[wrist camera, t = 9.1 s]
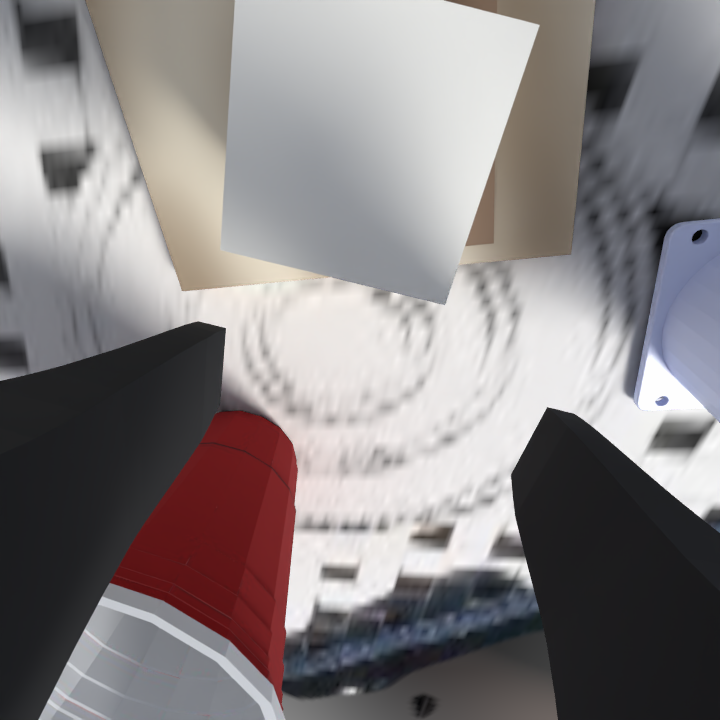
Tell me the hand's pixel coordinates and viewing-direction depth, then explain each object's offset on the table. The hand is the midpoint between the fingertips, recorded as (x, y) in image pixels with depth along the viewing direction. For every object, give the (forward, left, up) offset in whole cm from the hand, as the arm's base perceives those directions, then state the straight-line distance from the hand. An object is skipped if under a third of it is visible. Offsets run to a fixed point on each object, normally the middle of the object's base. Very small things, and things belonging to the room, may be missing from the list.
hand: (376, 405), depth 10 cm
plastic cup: (+9, +9, -10) cm, 16 cm away
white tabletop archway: (0, -5, -8) cm, 10 cm away
